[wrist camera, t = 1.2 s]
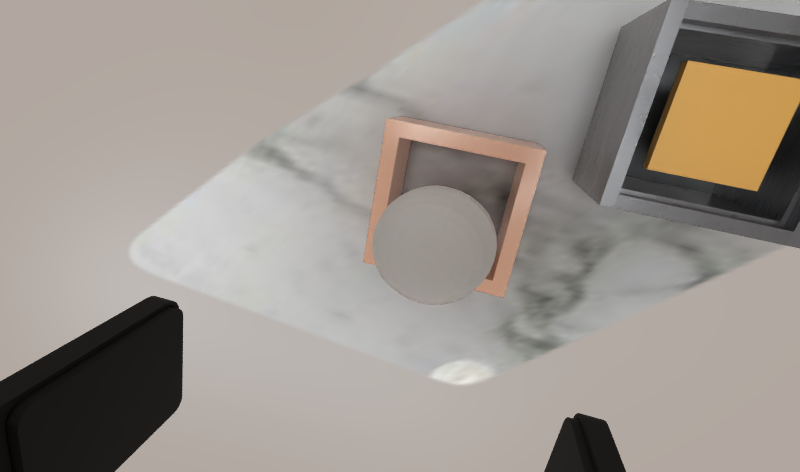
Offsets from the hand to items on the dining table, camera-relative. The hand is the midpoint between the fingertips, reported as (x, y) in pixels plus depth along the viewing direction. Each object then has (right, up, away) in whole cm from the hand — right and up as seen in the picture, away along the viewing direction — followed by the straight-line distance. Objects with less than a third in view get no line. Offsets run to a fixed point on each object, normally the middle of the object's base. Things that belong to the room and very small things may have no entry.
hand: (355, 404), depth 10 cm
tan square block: (+19, +11, +15) cm, 26 cm away
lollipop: (+5, +7, +22) cm, 24 cm away
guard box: (+19, +12, +18) cm, 29 cm away
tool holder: (+5, +7, +22) cm, 24 cm away
